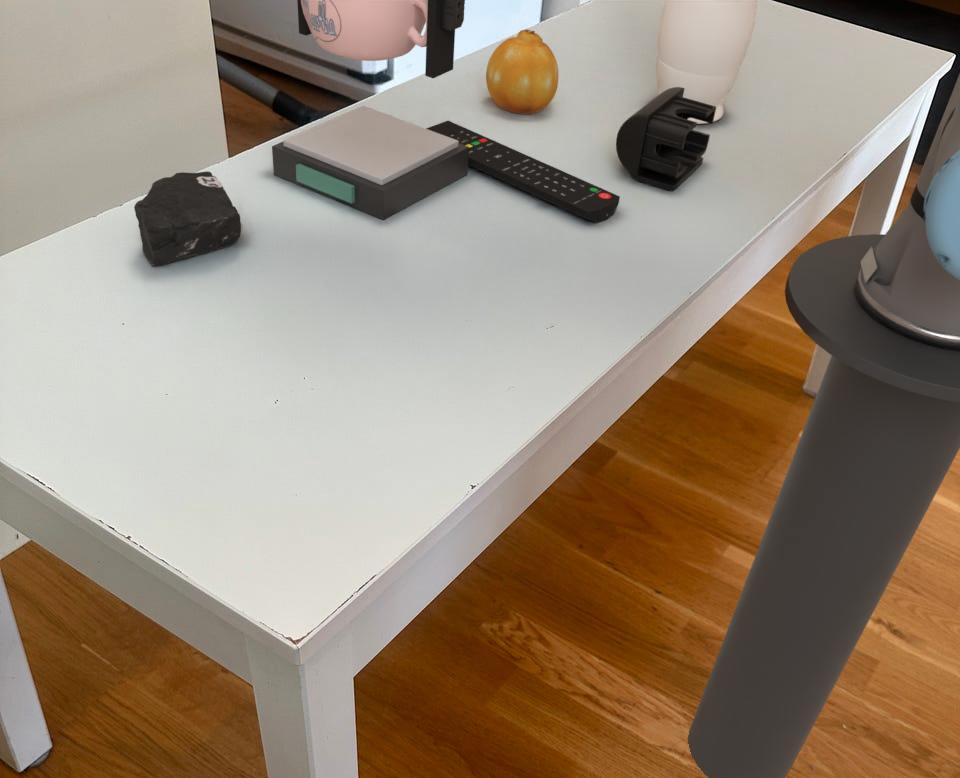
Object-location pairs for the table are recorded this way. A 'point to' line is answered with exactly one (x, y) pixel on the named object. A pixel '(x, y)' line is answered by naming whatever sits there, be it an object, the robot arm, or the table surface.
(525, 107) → the fruit
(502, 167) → the remote control
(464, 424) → the table surface
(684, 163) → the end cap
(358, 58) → the mug
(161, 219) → the rock
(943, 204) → the robot arm
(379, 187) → the scale
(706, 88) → the jar
